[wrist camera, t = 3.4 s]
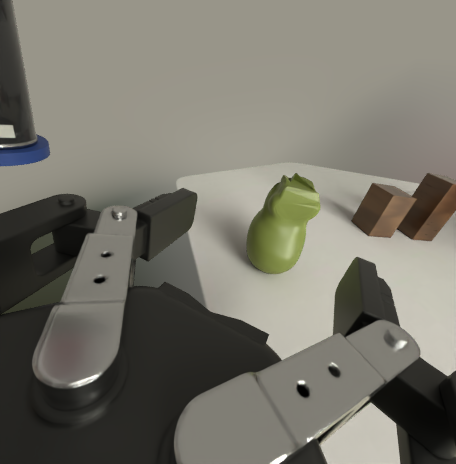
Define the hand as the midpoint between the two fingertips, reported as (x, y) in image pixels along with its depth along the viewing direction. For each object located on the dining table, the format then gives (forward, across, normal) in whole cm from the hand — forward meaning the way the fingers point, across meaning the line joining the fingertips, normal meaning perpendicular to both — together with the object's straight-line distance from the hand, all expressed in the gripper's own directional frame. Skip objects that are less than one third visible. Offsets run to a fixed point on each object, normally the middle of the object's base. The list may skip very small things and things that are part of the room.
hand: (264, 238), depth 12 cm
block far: (+38, -20, +10) cm, 44 cm away
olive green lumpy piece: (+11, 0, +10) cm, 15 cm away
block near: (+33, -12, +10) cm, 36 cm away
